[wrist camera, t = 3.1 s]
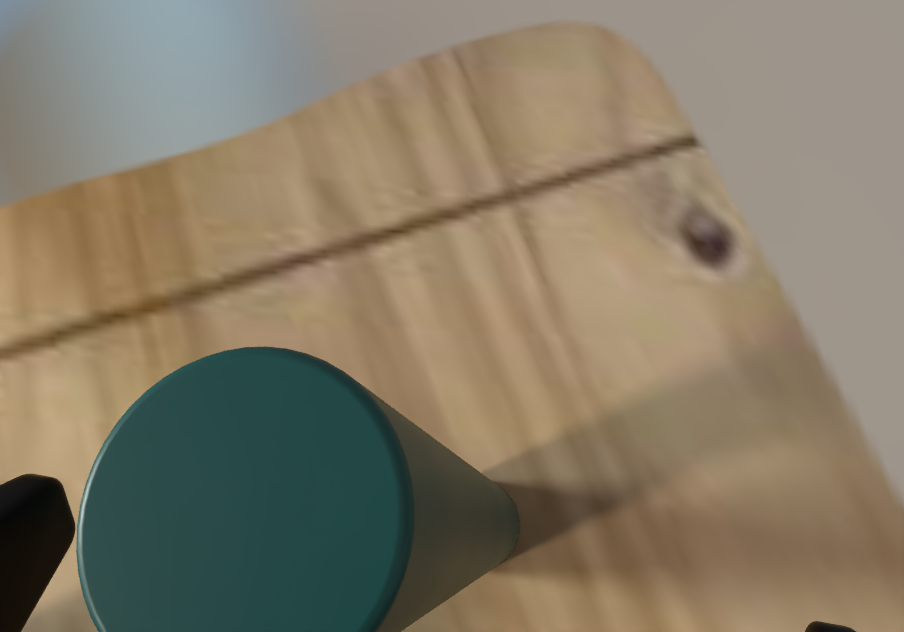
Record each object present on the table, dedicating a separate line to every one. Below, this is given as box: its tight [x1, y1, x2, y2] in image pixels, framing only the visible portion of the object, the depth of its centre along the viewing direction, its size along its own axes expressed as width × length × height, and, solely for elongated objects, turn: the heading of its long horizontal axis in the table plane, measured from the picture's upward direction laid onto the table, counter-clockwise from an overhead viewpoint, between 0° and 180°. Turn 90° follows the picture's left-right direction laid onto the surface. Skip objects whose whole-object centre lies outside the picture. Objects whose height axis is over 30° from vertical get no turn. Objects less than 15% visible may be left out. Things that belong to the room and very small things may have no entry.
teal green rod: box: [76, 347, 519, 632], centre depth 10 cm, size 2×2×13 cm
